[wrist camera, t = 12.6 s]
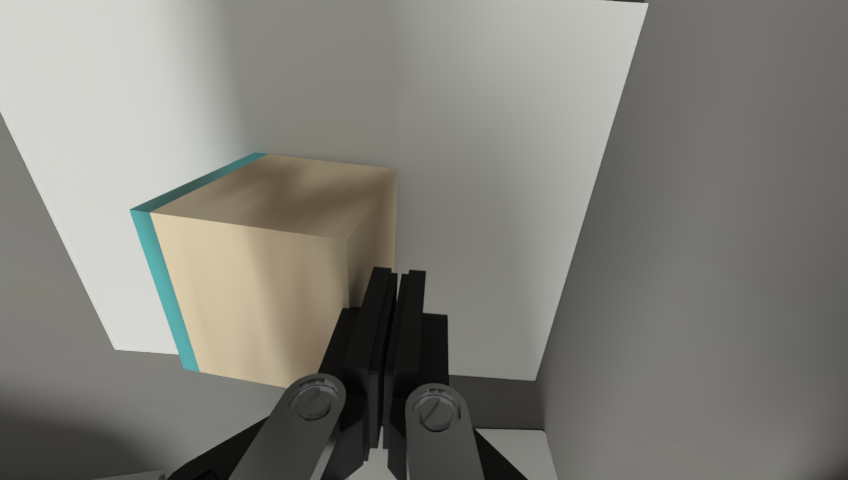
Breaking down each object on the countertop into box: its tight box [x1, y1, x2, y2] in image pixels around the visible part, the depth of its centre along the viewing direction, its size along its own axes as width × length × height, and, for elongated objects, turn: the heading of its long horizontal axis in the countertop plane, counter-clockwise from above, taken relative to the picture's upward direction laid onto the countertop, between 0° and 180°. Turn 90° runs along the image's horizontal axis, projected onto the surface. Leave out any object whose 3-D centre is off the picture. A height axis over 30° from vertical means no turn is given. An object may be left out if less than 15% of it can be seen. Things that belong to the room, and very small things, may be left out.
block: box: [129, 153, 398, 388], centre depth 13 cm, size 6×6×6 cm
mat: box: [0, 0, 649, 381], centre depth 16 cm, size 24×18×1 cm
